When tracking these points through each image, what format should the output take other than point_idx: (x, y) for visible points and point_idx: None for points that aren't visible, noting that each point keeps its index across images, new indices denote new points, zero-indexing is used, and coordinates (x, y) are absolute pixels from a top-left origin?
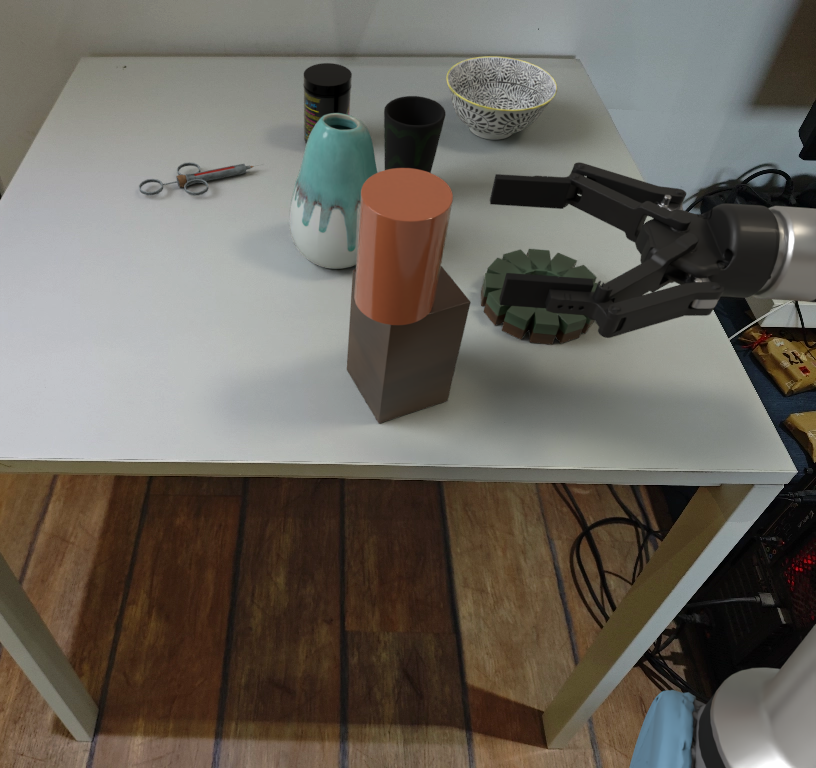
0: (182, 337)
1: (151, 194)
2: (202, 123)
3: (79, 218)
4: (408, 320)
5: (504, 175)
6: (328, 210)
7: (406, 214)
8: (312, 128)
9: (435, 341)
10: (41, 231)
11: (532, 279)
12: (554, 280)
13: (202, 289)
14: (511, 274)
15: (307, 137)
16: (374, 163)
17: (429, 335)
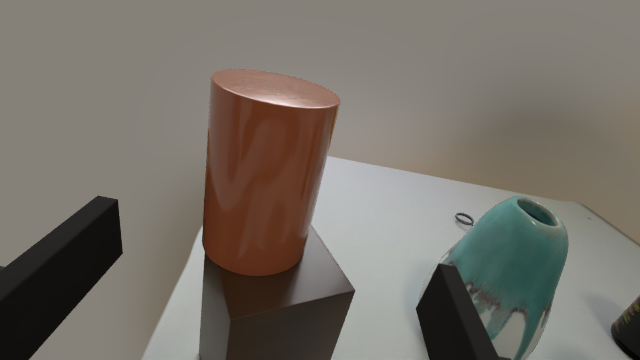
0: (318, 227)
1: (457, 218)
2: (567, 253)
3: (417, 193)
4: (202, 236)
5: (459, 279)
6: (447, 262)
7: (228, 75)
8: (625, 313)
9: (215, 322)
10: (399, 181)
11: (65, 225)
12: (23, 260)
13: (370, 239)
14: (107, 204)
15: (617, 319)
16: (530, 279)
17: (214, 302)
